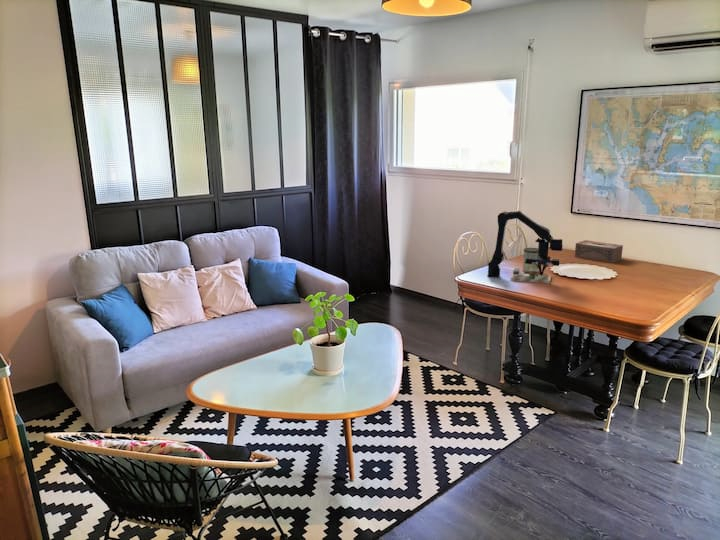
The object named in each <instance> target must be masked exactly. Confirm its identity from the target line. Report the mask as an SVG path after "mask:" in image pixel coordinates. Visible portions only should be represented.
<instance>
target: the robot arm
mask: <svg viewBox="0 0 720 540" xmlns="http://www.w3.org/2000/svg"><path fill="white" fill-rule="evenodd" d="M516 219H517V220H519V221H520V222H521V223H523V224H524V225H525V226H527V227H528V228H530V229H531V230H532V231H533V232H534V233H535V234H536V235H537V237H538V238H537V239H535V241H534V242H535V243H538V256H537V259H533V258H531V257H527V258H526V262H525V263H526V264H531V263H532V262H535V263H536V266H538V268H539V271H540V272H539V273H540V274H539V275H541V276H542V275H544V273H545V270H546V269H547V268H548V267H549V265H550V264H551V265H552V266H554V267H556V266H557V267H559V266H560V259H559V258H552V259H551V256H549V250H551V251H554V252H563V245H564V244H563V239H562V238H560V239H559V238H558V239H556V238H553V236H552V235H551V230H550V229H549V228H547V227H545V226H543V225H541V224H538V223H537V222H535V221H534V220H532V219H531V218H530V217H529V216H527V215H526V214H524V213H523V212H522V211H520V210H517V211H506V210H504V211H501V212H500V213H499V214H498V215H497V226H498V229H497V236H496V243H495V250H494V252H493V254H492V258H491V260H490V261H489V262H488V263H487V266H488V267H487V276H486V277H490V278H491V277H492V278H499V276H500V275H501V268H500V264H501V263H502V262H503V261H504V260H505V254H506V252H504V251H503V248H504V240H505V233H506V227H507V225H508V222H509V221H510V220H516Z"/></svg>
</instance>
